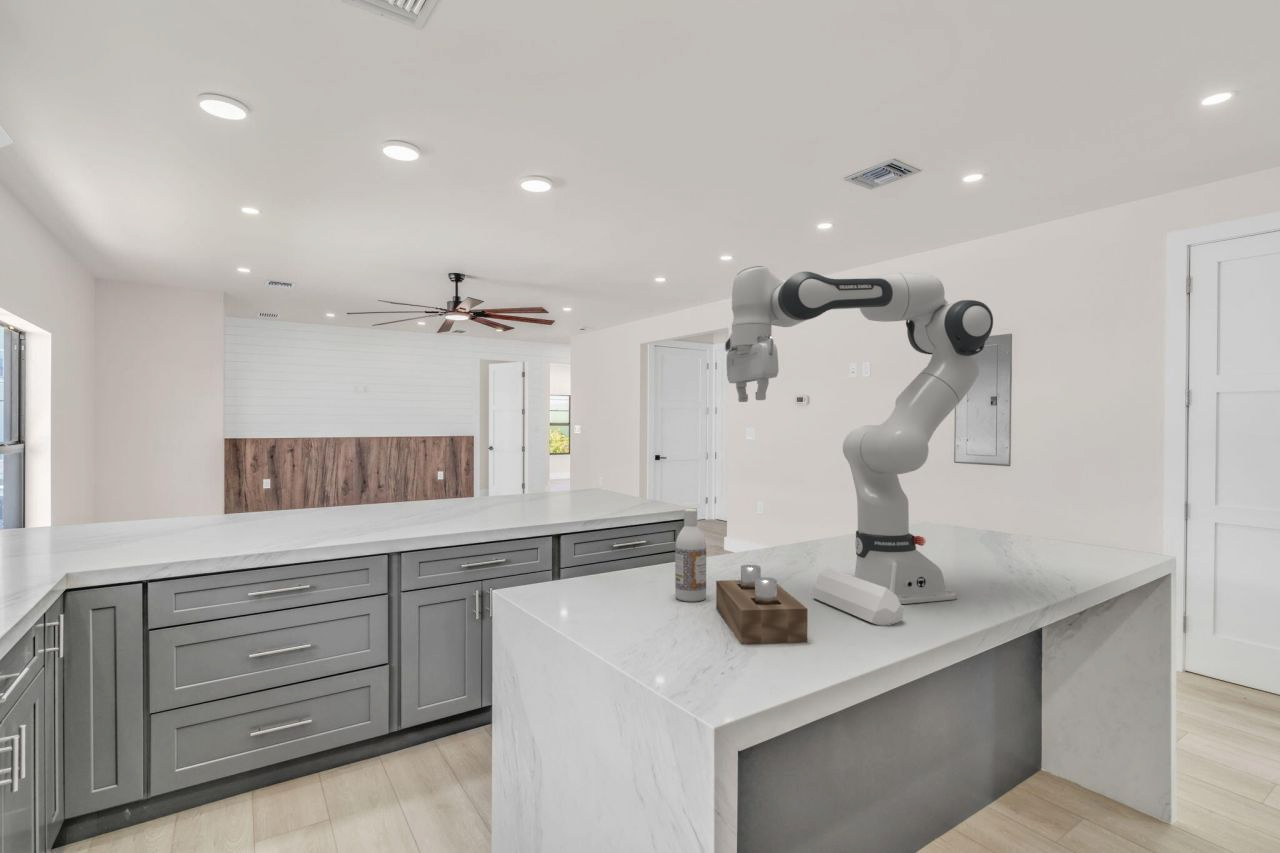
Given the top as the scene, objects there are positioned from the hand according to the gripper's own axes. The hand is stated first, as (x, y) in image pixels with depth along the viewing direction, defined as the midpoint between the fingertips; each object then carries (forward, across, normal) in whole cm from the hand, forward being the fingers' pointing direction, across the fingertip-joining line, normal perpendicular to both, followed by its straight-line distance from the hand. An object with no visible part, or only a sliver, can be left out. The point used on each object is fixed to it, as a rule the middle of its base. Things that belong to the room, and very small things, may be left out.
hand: (751, 401), depth 142 cm
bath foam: (+45, +4, +13) cm, 47 cm away
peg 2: (+40, -23, +7) cm, 47 cm away
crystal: (+45, -13, -18) cm, 50 cm away
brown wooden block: (+44, -18, +6) cm, 48 cm away
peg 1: (+40, -12, +6) cm, 42 cm away
